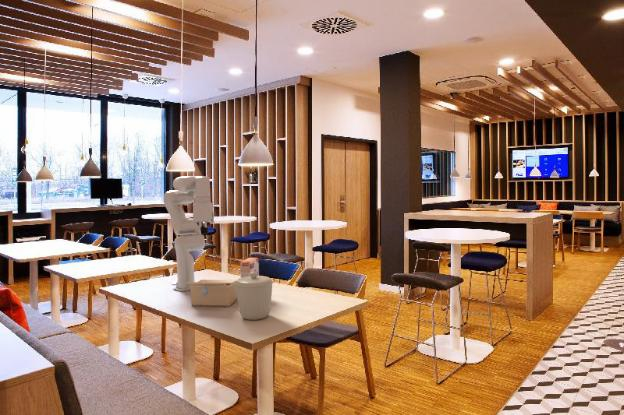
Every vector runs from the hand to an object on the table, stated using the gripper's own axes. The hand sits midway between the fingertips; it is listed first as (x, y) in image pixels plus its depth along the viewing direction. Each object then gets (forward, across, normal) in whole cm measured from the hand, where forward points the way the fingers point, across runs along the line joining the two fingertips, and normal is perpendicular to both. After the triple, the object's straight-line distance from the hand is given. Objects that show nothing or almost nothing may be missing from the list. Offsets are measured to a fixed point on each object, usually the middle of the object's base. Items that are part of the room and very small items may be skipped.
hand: (204, 234), depth 239 cm
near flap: (+23, +7, -16) cm, 28 cm away
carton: (+35, +7, -6) cm, 36 cm away
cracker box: (+35, +23, +4) cm, 42 cm away
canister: (+35, +35, -28) cm, 57 cm away
